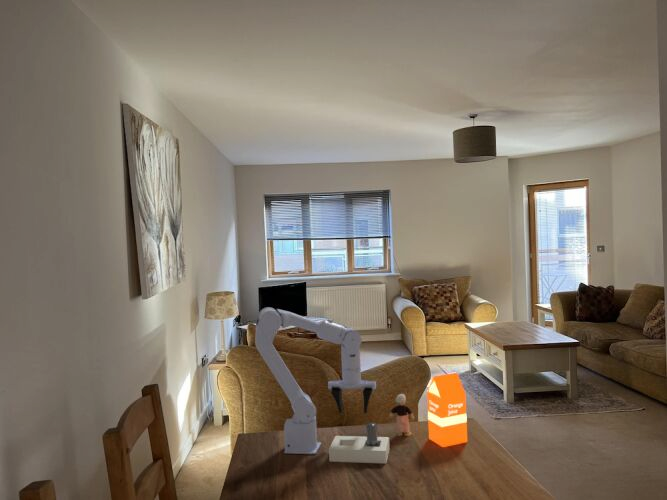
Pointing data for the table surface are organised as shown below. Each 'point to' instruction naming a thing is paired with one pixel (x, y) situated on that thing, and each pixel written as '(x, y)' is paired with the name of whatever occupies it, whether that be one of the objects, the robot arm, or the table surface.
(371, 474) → the table surface
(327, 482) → the table surface
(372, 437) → the peg
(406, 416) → the grandmother figurine
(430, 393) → the orange juice
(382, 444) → the hole block
